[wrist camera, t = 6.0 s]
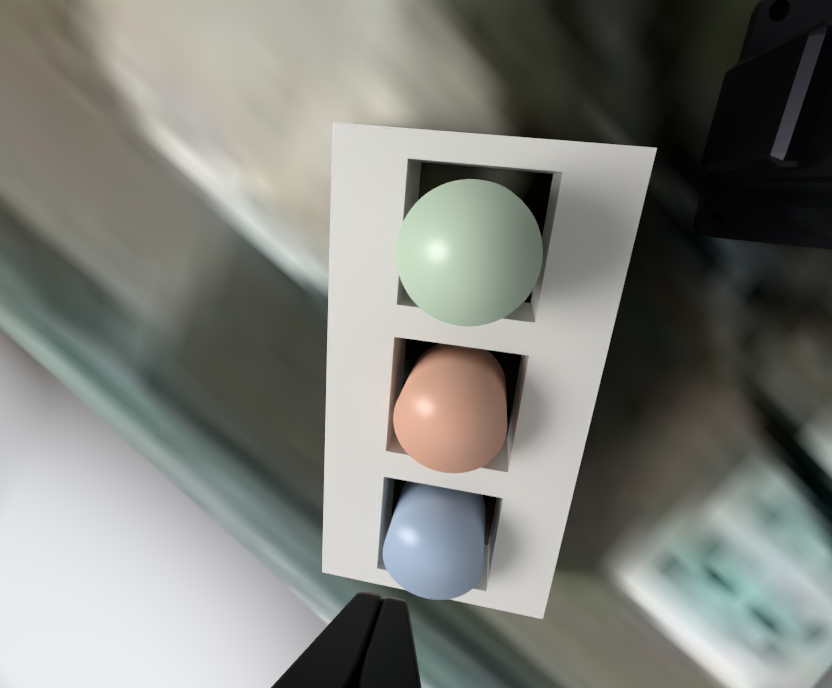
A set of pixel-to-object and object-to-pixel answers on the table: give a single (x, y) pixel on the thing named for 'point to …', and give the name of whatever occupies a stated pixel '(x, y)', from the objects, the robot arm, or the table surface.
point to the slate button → (436, 541)
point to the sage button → (469, 252)
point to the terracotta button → (453, 409)
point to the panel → (516, 333)
